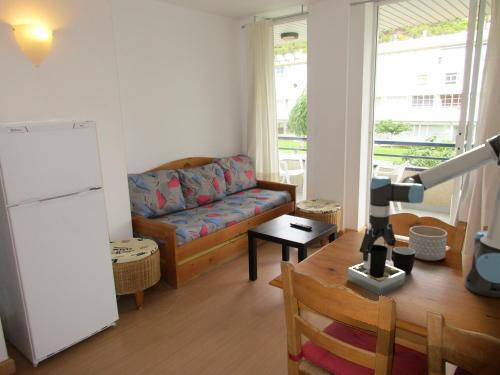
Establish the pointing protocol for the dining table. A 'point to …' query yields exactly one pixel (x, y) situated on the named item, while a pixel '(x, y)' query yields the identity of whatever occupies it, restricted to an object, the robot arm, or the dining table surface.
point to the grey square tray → (376, 285)
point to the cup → (377, 260)
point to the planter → (428, 242)
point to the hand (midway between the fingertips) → (377, 264)
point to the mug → (403, 259)
